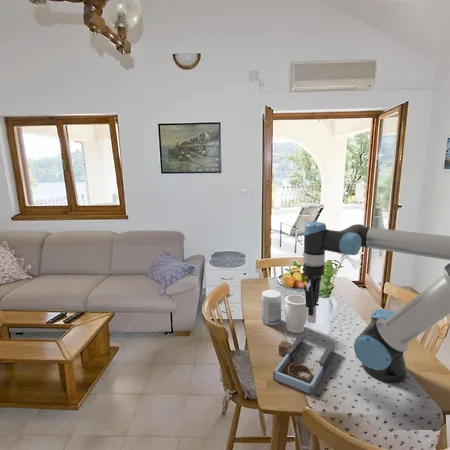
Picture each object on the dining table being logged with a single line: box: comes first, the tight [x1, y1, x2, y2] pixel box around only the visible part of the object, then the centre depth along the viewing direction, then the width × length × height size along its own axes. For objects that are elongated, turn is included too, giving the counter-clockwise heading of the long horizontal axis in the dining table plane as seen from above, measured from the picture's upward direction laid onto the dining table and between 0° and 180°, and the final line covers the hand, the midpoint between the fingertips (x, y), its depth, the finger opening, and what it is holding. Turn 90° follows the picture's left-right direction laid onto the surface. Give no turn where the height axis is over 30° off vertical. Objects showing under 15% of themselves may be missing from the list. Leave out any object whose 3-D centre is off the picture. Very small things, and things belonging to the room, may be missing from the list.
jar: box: [284, 294, 308, 334], centre depth 148 cm, size 11×10×15 cm
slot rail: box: [287, 332, 336, 373], centre depth 129 cm, size 16×14×4 cm
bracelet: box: [286, 362, 313, 383], centre depth 117 cm, size 9×9×3 cm
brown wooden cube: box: [278, 340, 292, 357], centre depth 131 cm, size 4×4×4 cm
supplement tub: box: [261, 289, 282, 326], centre depth 155 cm, size 10×10×15 cm
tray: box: [272, 354, 324, 395], centre depth 117 cm, size 13×14×3 cm
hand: (311, 321), depth 123 cm, fingers closed
